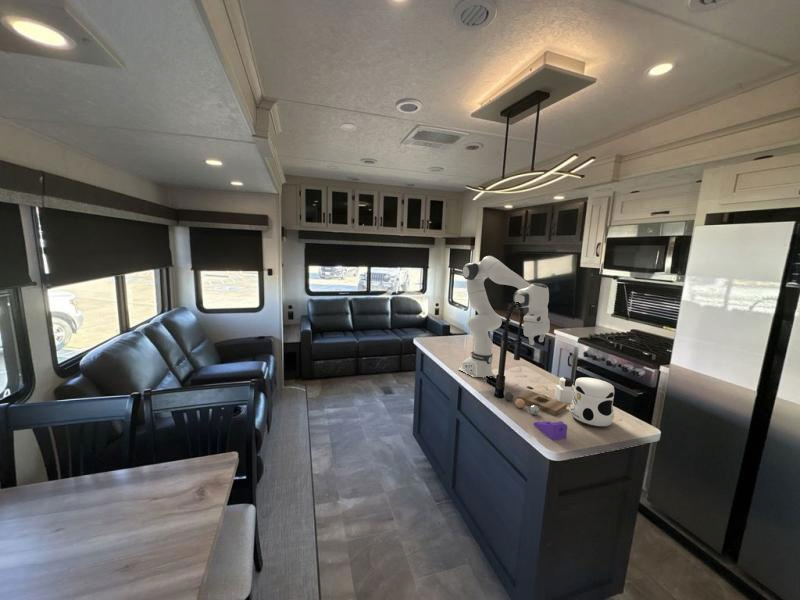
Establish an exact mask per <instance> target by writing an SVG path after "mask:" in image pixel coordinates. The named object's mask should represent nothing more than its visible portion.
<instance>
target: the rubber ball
mask: <svg viewBox="0 0 800 600" xmlns="http://www.w3.org/2000/svg"><path fill="white" fill-rule="evenodd" d="M504 398H505V400H506V401H512V400H513V399H514V394H513V392H511V391H506V392H505V393H504Z"/></svg>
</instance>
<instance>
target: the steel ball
mask: <svg viewBox="0 0 800 600" xmlns="http://www.w3.org/2000/svg"><path fill="white" fill-rule="evenodd" d="M529 412H530V414H531V415H534V416H536V415H539V413H540V410H539V408H538V407H537V406H536V405H532V406H529Z"/></svg>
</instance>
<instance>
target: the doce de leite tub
mask: <svg viewBox="0 0 800 600" xmlns="http://www.w3.org/2000/svg"><path fill="white" fill-rule="evenodd" d="M574 382H575V383H574V388H573V389H574V397H573V400H572V402H571V403H570V405H569V406H570V407H569V408H570V413H571V414H570V415H571V416H572V417H573V418H574V419H575V420H577V421H578V422H580V423H582V424H584V425H587V426H590V427H594V428H595V427H596V428H605V427H609V426H610V425H611V424H612V423H613V421H614V417H615V412H614V407H613V406H614V405H613V404H614V398H615V387H614V385H612V384H611V383H610V382H607V381H605V380H601V379H599V378H594V377H593V378H592V377H578V378H576V379H575V381H574Z"/></svg>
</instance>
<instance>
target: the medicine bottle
mask: <svg viewBox="0 0 800 600" xmlns="http://www.w3.org/2000/svg"><path fill="white" fill-rule="evenodd" d="M573 383H574V380H573V379H571V378H570V377H566V376H564V377H560V378H559V384H555V391H554V398H555V400H557V401H560V402H563V403H566V404H571V402H572V400H573V397H574V388H573Z"/></svg>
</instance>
